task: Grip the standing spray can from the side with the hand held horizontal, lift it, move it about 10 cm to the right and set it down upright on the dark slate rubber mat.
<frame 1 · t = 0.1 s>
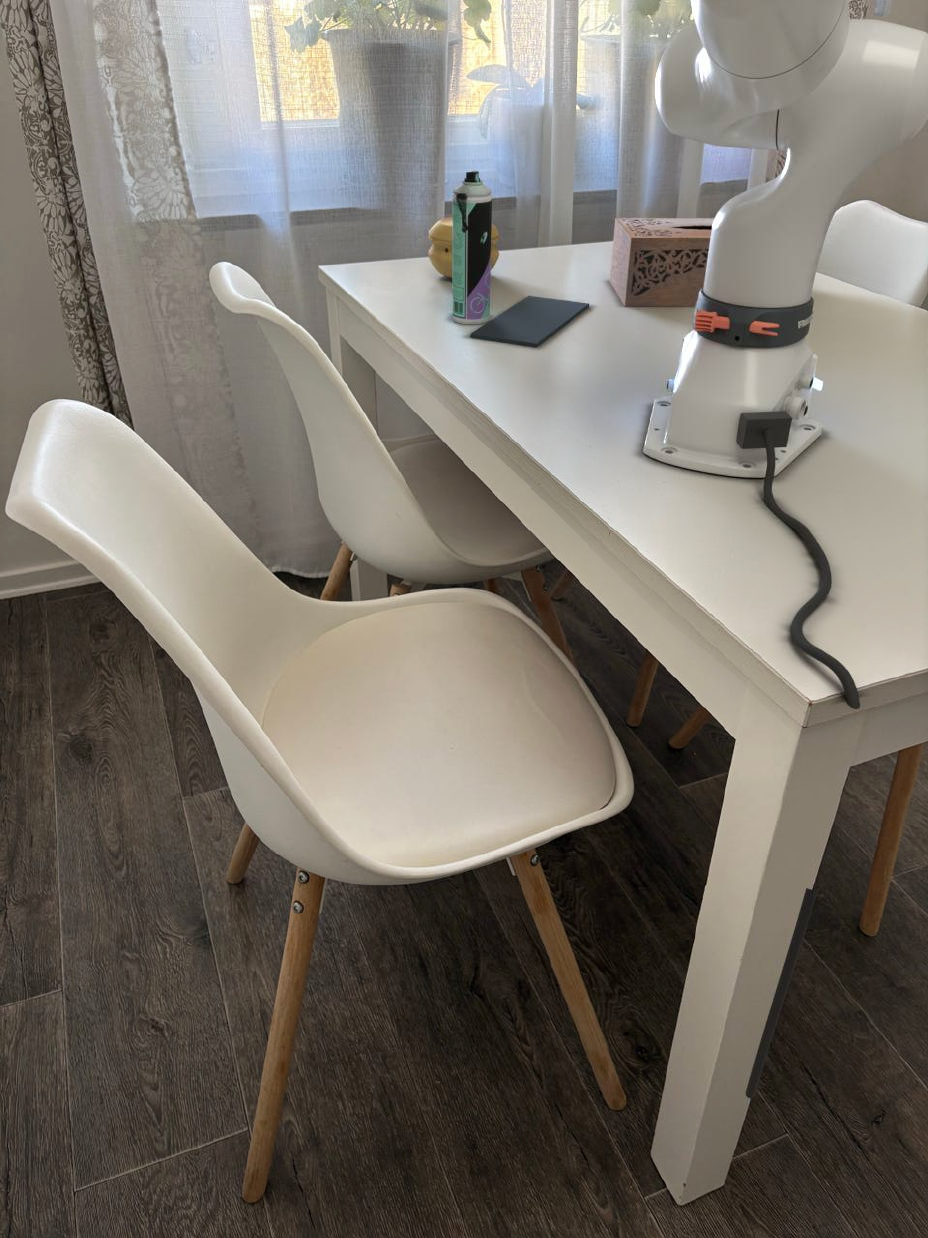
hand: (835, 14, 107), 39 cm above the table, tool pointing down, fingers open, 8 cm apart
spray can: (471, 320, 143), on the table
pot: (463, 277, 164), on the table
mat: (532, 321, 142), on the table
tissue box cover: (696, 294, 156), on the table
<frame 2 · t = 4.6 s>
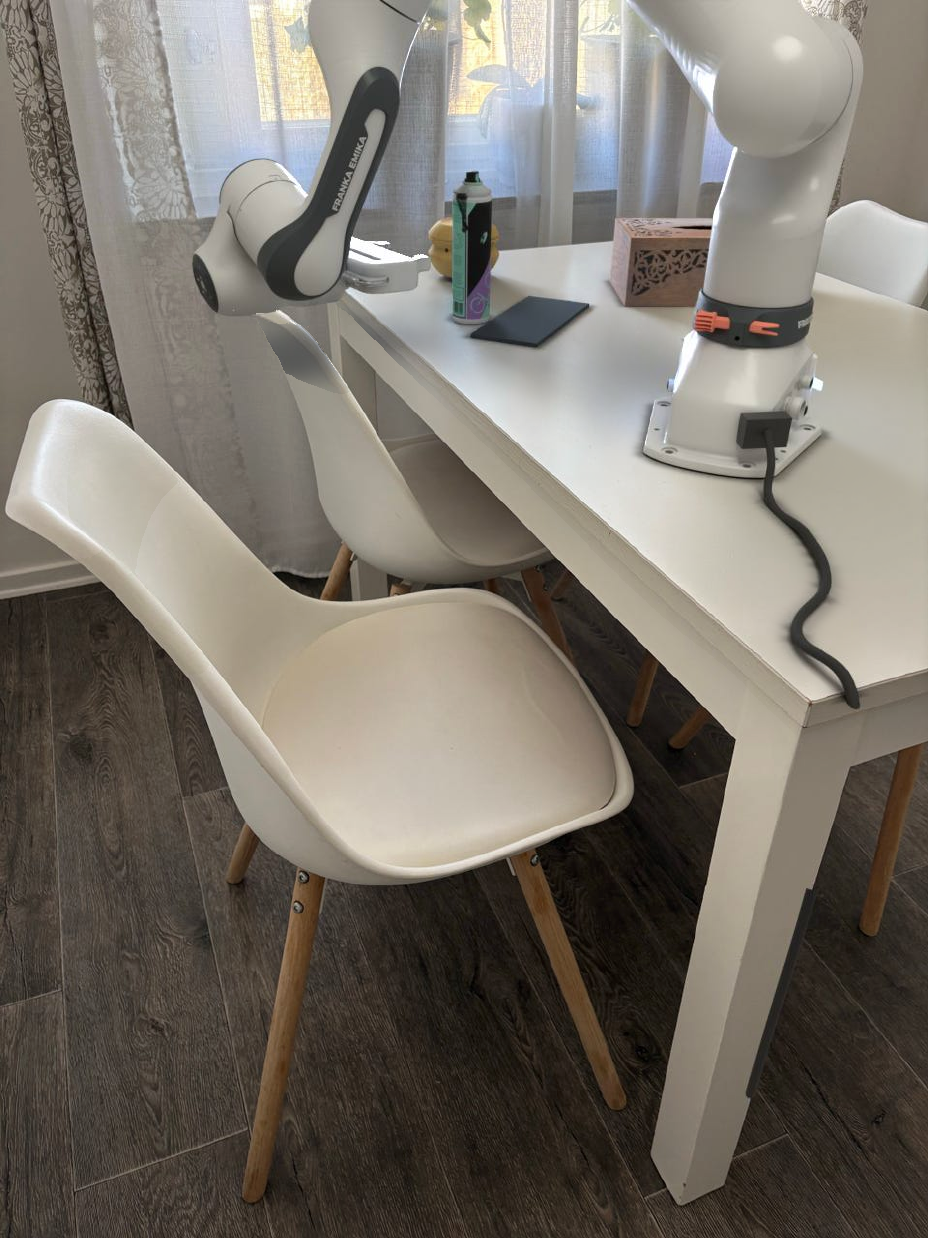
hand: (408, 255, 132), 10 cm above the table, tool horizontal, fingers open, 8 cm apart
nothing on the table moved.
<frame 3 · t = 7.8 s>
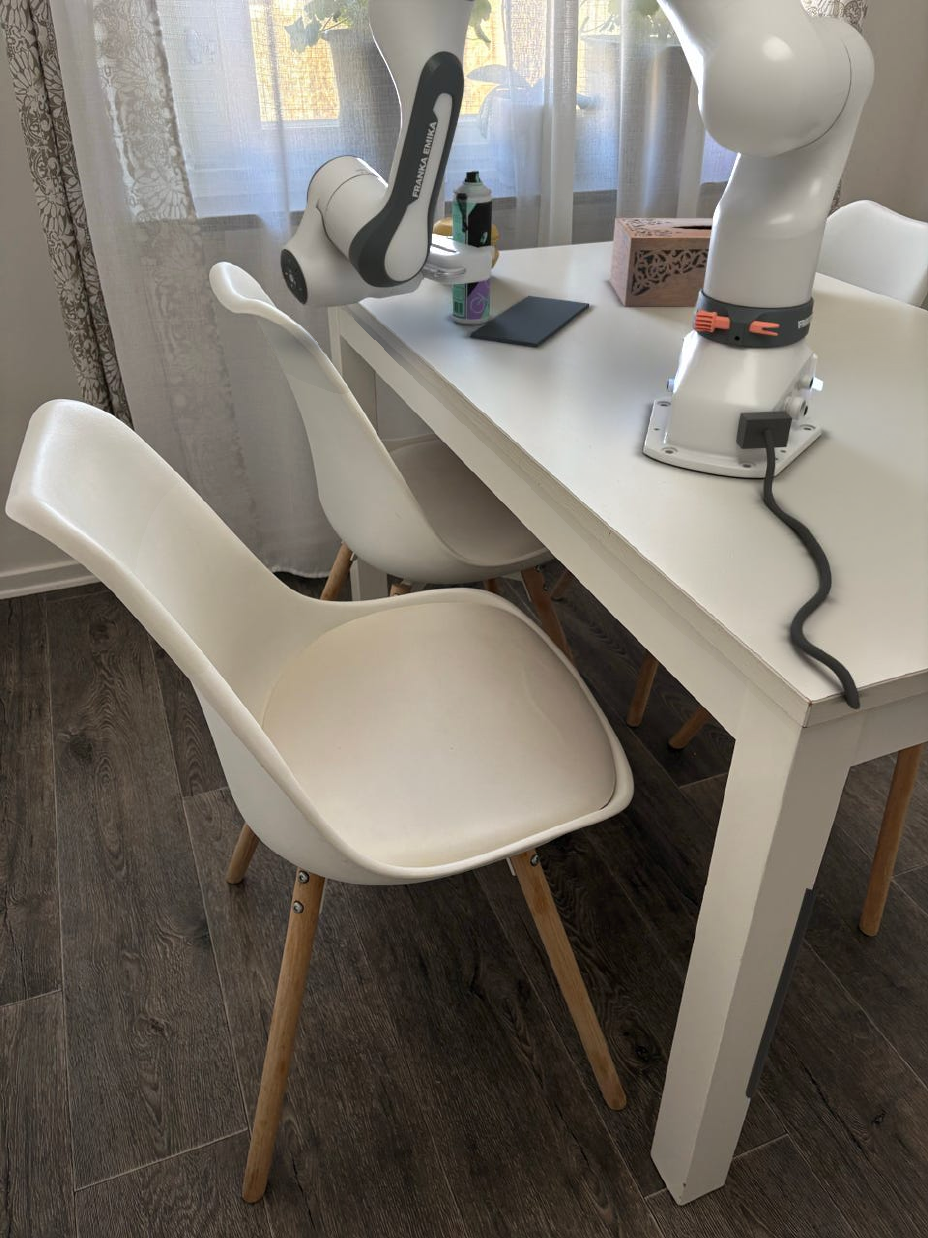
hand: (476, 246, 138), 10 cm above the table, tool horizontal, fingers closed on spray can, 5 cm apart
spray can: (470, 320, 143), on the table, touching gripper
everything else where it was.
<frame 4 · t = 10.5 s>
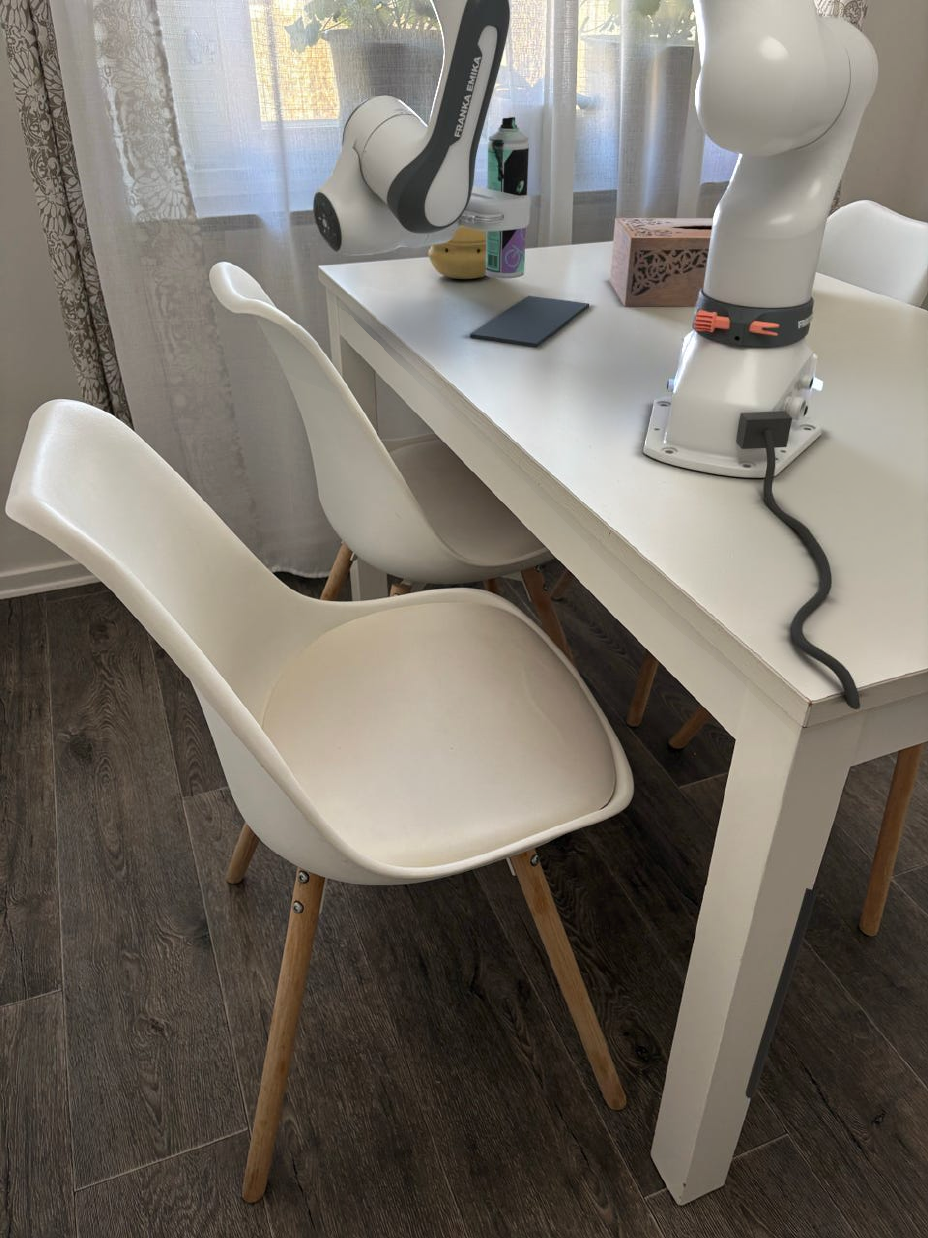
hand: (511, 197, 134), 17 cm above the table, tool horizontal, fingers closed on spray can, 5 cm apart
spray can: (504, 275, 139), point 6 cm above the table, touching gripper
everything else where it was.
when the fingers open (11 cm above the table, at t = 13.5 s): spray can stays where it is, resting on mat.
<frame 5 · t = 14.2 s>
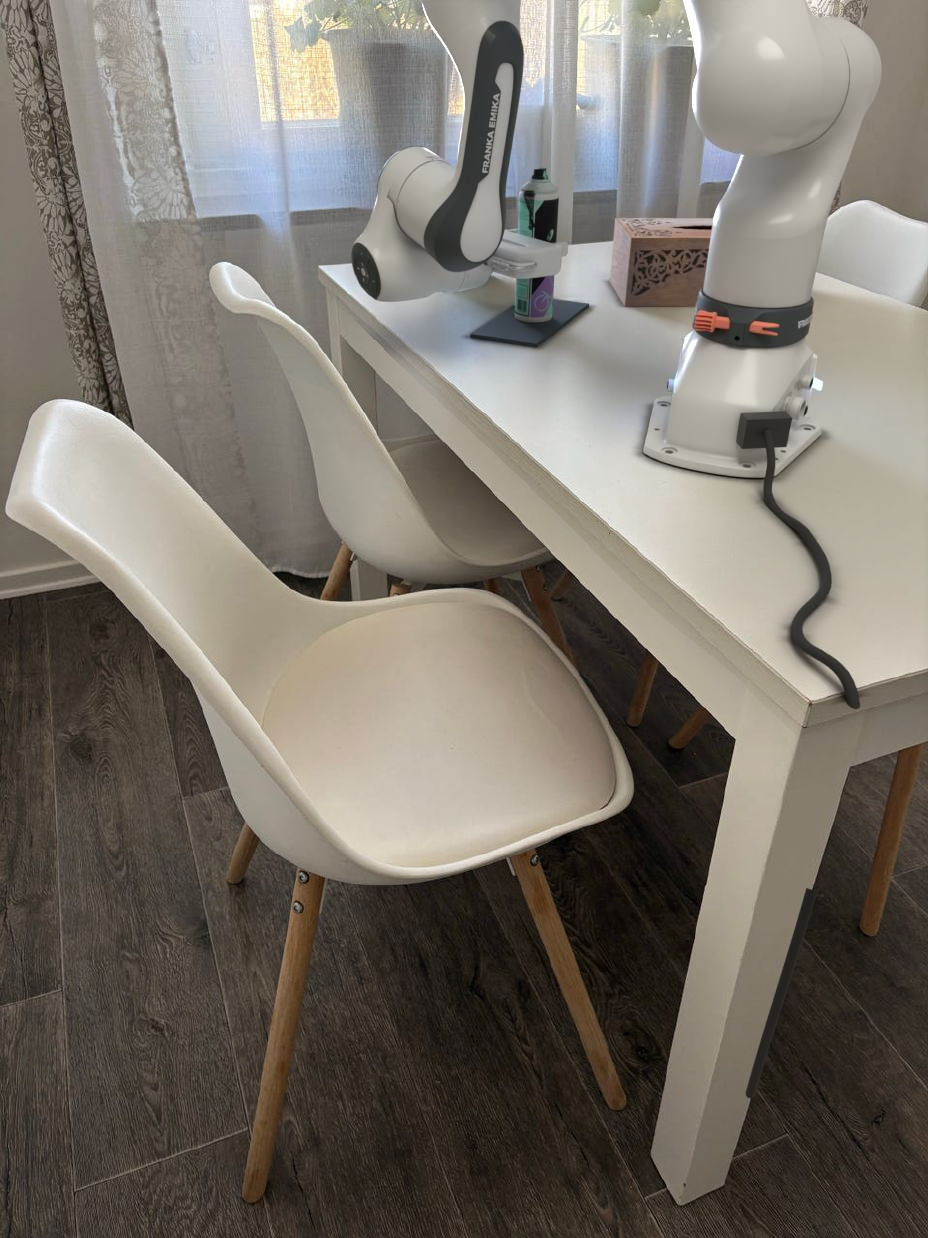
hand: (542, 241, 137), 11 cm above the table, tool horizontal, fingers open, 8 cm apart
spray can: (533, 318, 142), resting on mat
everything else where it was.
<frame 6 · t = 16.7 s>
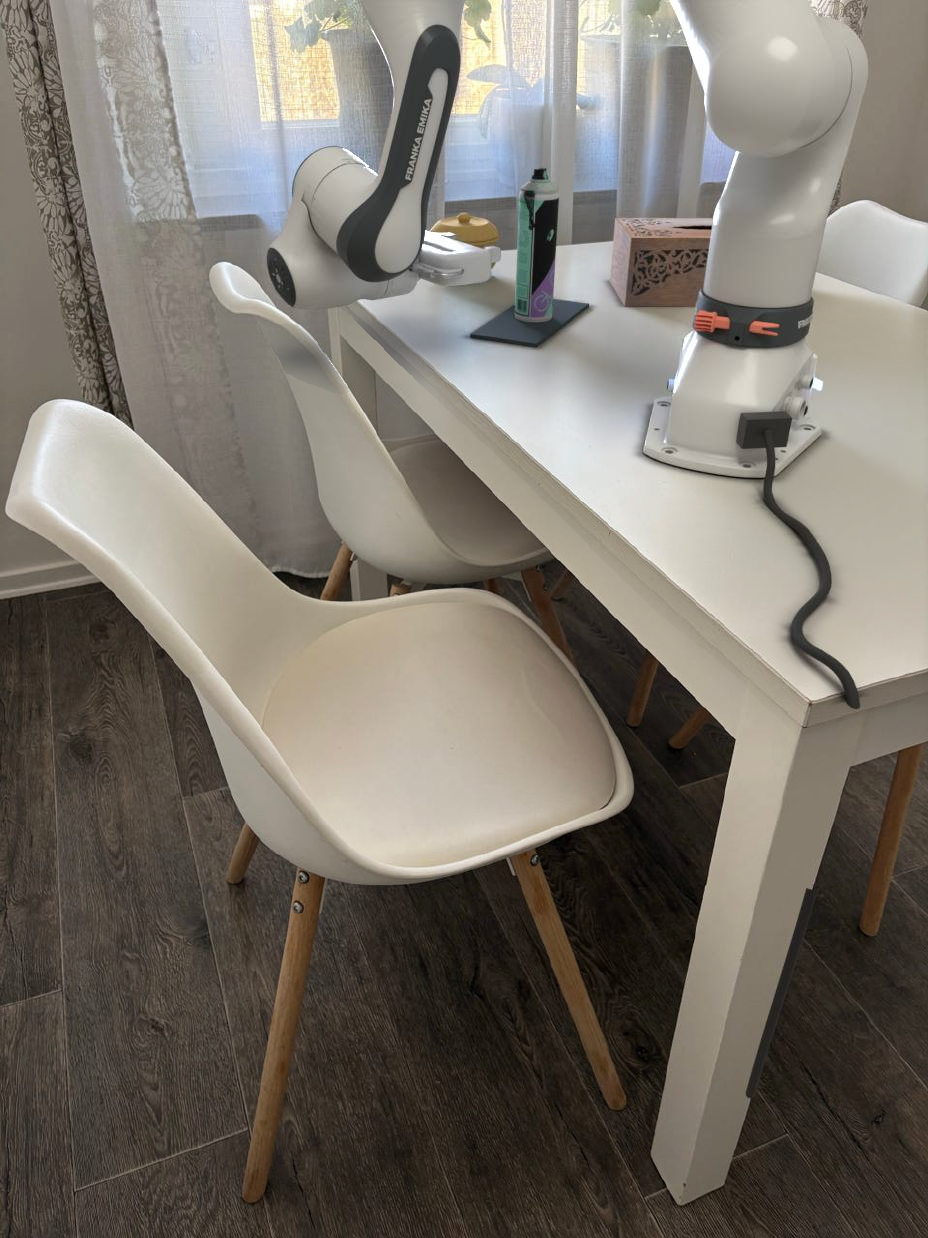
hand: (475, 246, 131), 12 cm above the table, tool horizontal, fingers open, 8 cm apart
nothing on the table moved.
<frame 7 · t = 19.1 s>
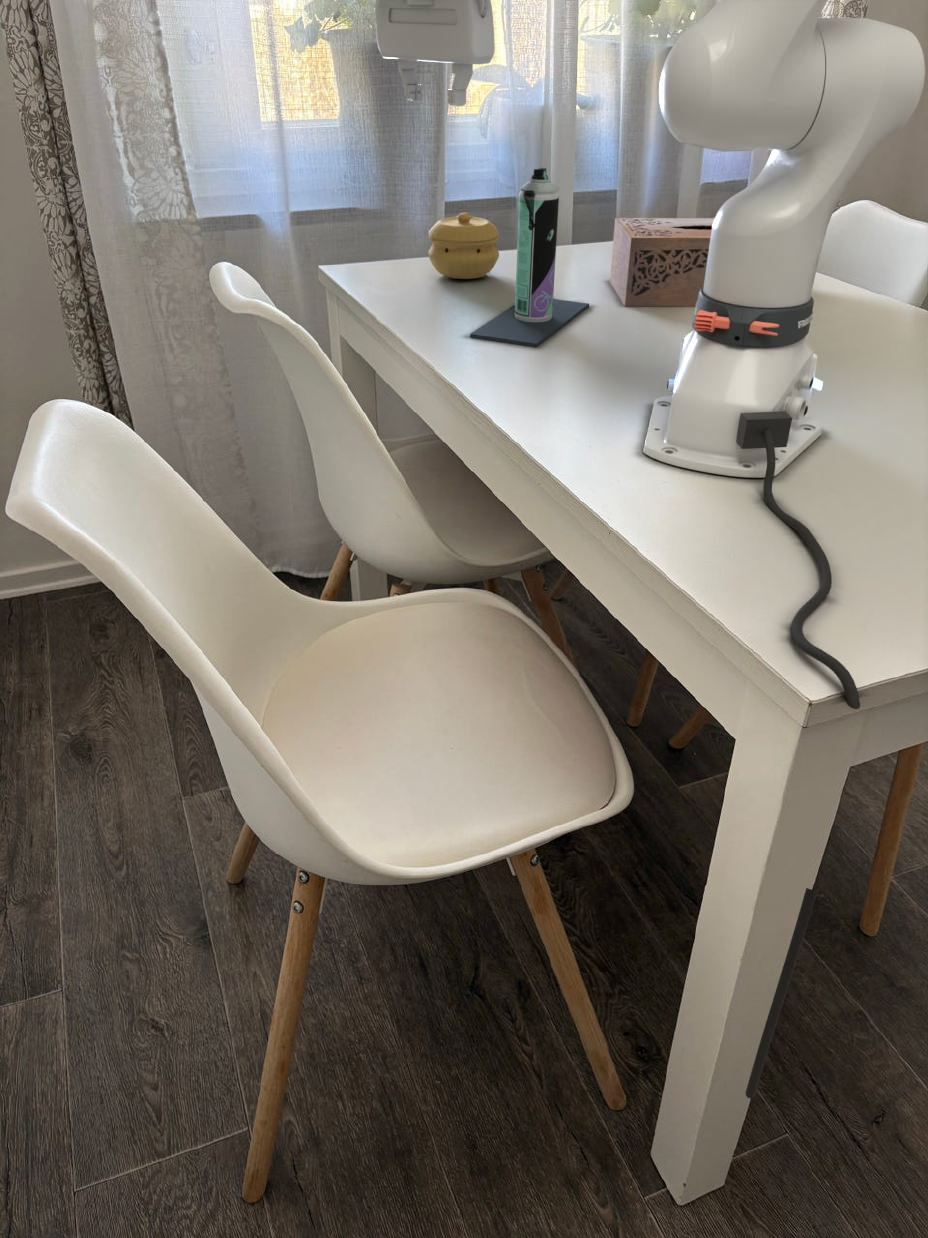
hand: (434, 102, 123), 29 cm above the table, tool pointing down, fingers open, 8 cm apart
nothing on the table moved.
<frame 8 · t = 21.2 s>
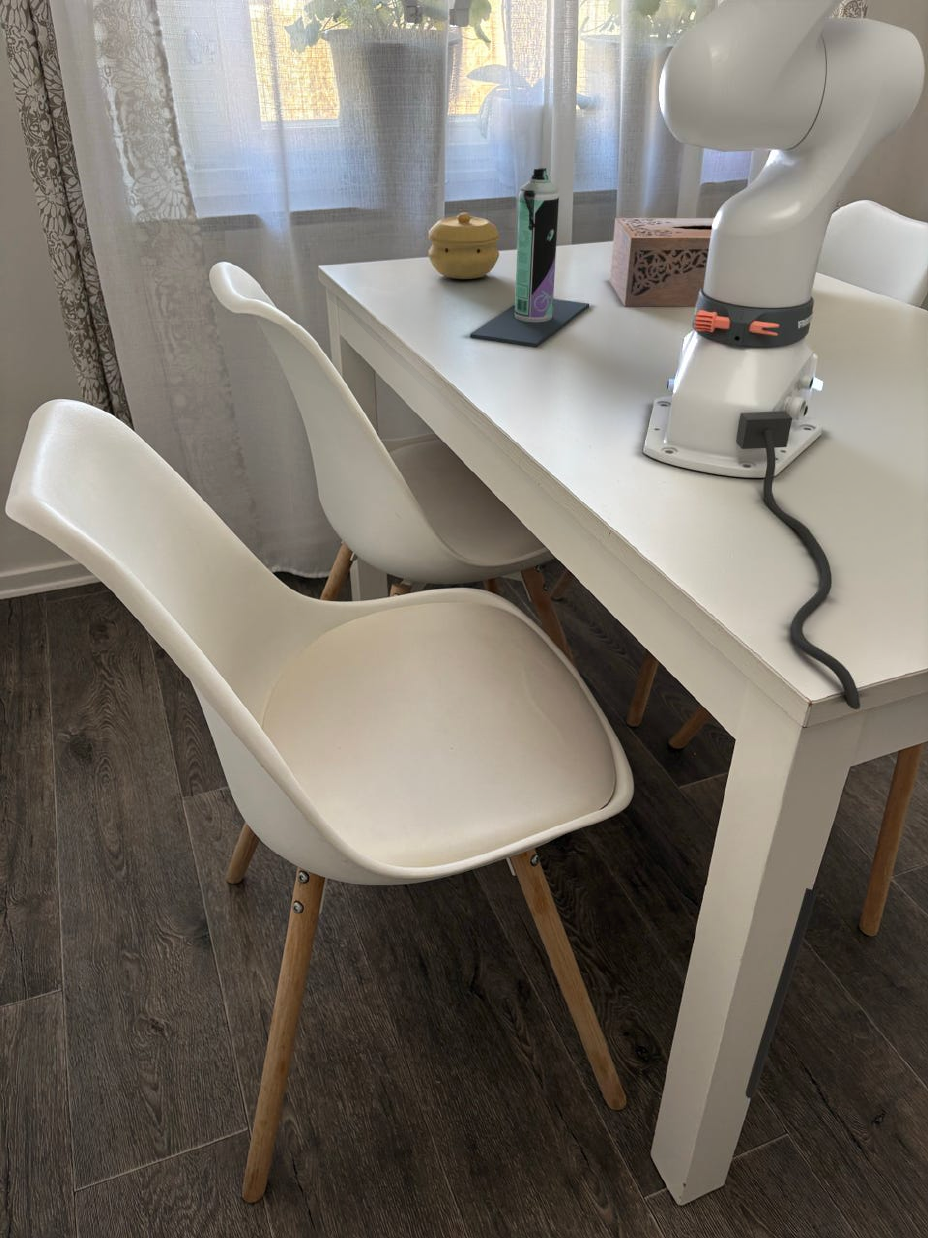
hand: (435, 25, 117), 37 cm above the table, tool pointing down, fingers open, 8 cm apart
nothing on the table moved.
at the end: spray can inside the target area on the mat (0.4 cm from its centre), point 0.3 cm above the mat's base; spray can tilted 0°; the gripper is holding nothing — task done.
